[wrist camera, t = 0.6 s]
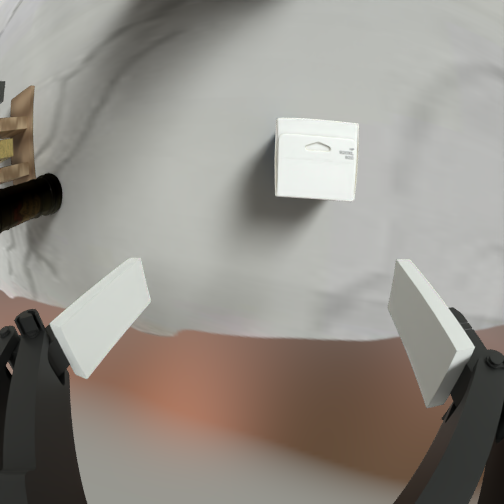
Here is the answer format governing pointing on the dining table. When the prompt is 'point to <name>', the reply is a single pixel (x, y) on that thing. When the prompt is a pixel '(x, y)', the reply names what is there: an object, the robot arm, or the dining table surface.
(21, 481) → the robot arm
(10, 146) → the spacer
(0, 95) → the shaft
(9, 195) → the container
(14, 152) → the bearing rig
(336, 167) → the ink box
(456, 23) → the dining table surface
